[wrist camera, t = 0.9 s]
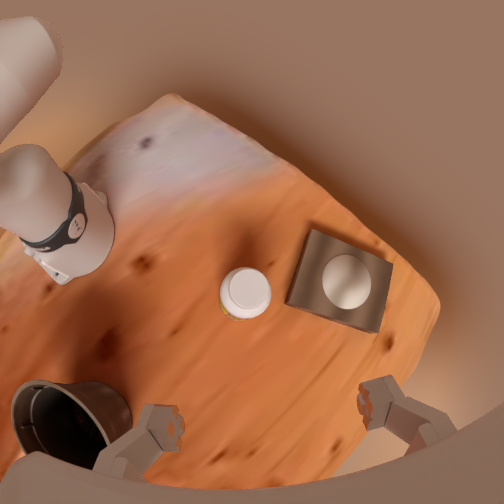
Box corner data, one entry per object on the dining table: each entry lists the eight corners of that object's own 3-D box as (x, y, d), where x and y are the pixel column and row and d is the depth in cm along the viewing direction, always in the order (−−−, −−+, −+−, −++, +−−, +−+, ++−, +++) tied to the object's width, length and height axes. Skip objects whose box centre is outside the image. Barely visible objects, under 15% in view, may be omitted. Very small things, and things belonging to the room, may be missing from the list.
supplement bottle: (219, 321, 42) (220, 317, 30) (218, 280, 44) (219, 260, 32) (261, 320, 43) (278, 315, 31) (259, 279, 45) (275, 259, 33)
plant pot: (114, 354, 38) (66, 362, 23) (163, 438, 35) (140, 483, 20) (50, 385, 35) (-5, 397, 19) (94, 461, 32) (55, 498, 16)
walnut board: (284, 303, 44) (289, 301, 41) (306, 234, 48) (312, 228, 45) (369, 333, 45) (379, 332, 42) (384, 267, 49) (393, 263, 46)
